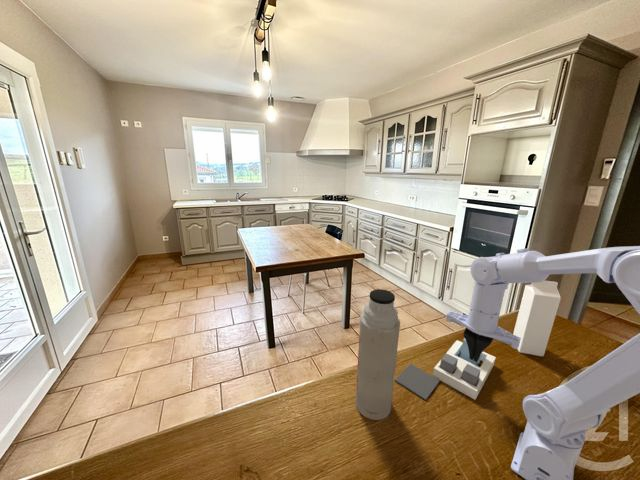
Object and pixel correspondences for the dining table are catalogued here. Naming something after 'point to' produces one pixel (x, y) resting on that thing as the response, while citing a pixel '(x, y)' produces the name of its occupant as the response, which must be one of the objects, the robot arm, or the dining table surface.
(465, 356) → the block
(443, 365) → the plunger far
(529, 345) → the milk
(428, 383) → the mat
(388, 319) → the thermos bottle
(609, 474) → the dining table surface
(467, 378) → the plunger near
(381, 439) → the dining table surface
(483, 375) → the housing
